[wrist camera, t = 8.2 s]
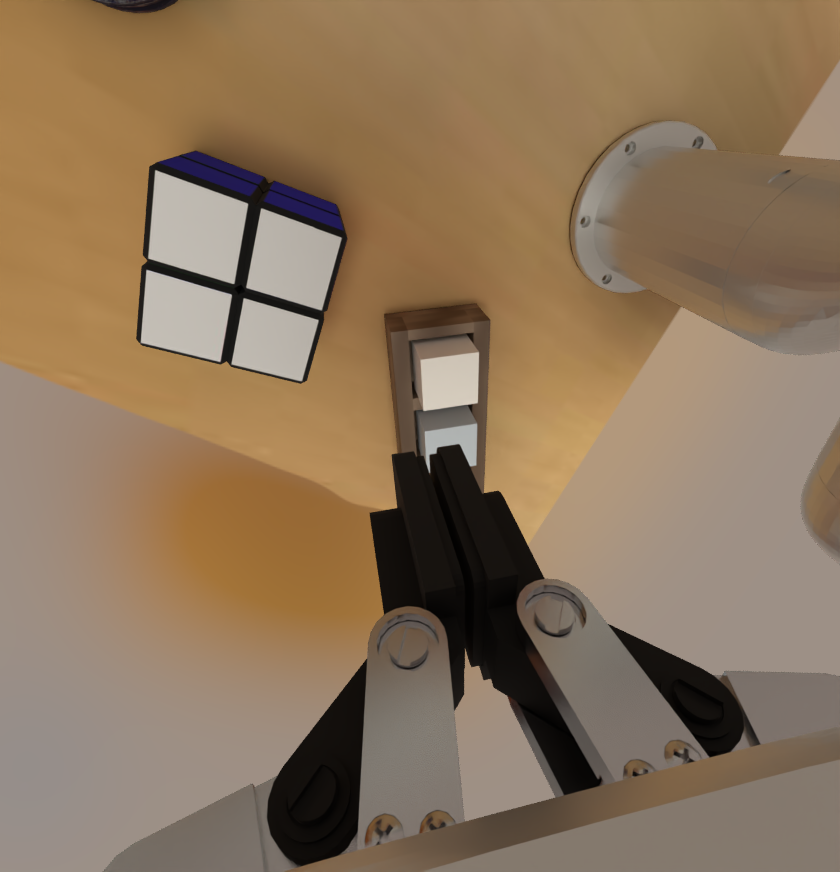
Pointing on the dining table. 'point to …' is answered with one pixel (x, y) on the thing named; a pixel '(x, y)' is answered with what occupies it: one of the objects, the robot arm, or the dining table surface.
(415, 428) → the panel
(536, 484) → the dining table surface
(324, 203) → the puzzle cube
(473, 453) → the light grey cube
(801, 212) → the robot arm
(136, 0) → the storage jar
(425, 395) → the white cube
